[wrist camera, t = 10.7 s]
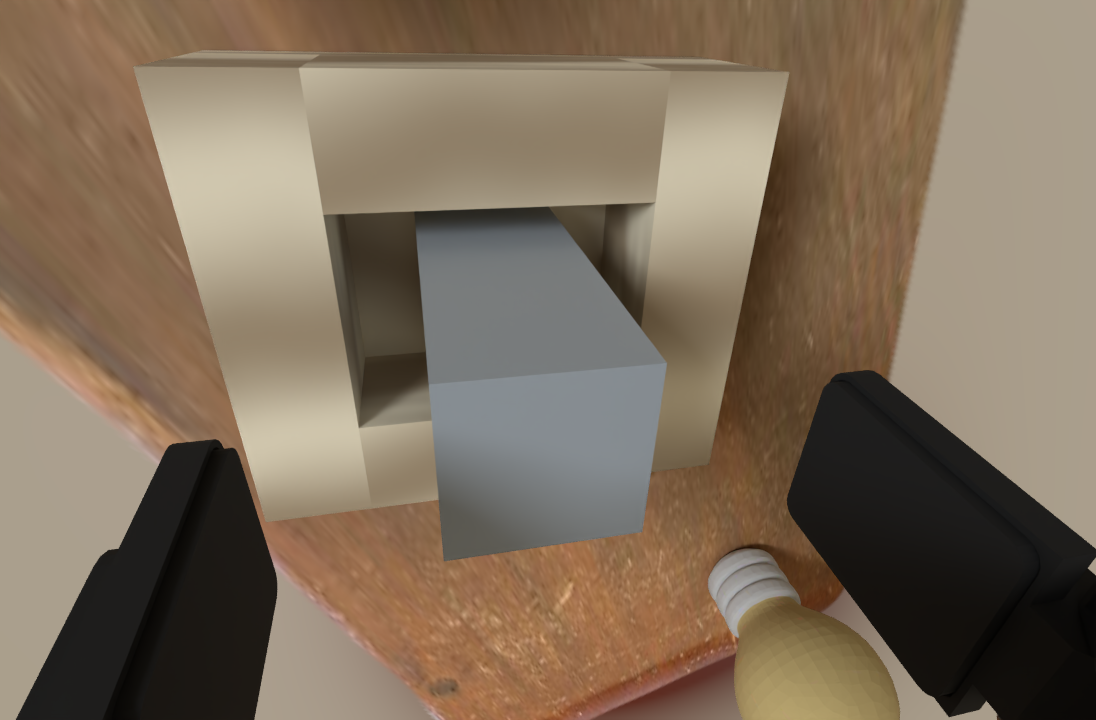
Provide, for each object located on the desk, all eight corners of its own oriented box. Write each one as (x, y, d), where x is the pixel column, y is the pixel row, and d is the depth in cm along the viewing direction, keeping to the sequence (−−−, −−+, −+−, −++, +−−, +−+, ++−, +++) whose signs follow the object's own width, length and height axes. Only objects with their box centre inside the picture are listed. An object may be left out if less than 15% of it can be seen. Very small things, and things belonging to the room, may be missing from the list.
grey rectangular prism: (413, 206, 18) (428, 384, 9) (545, 201, 19) (667, 362, 10) (424, 325, 20) (444, 561, 11) (542, 317, 21) (642, 531, 12)
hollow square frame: (203, 50, 16) (133, 66, 11) (699, 57, 18) (789, 72, 14) (291, 422, 22) (265, 522, 18) (655, 385, 24) (708, 464, 20)
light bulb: (655, 595, 31) (750, 810, 23) (728, 508, 29) (861, 711, 21) (742, 615, 34) (855, 814, 26) (814, 537, 32) (964, 727, 23)
